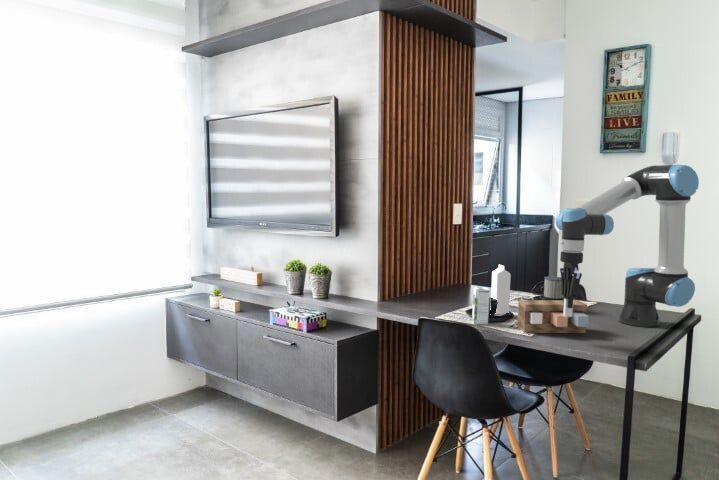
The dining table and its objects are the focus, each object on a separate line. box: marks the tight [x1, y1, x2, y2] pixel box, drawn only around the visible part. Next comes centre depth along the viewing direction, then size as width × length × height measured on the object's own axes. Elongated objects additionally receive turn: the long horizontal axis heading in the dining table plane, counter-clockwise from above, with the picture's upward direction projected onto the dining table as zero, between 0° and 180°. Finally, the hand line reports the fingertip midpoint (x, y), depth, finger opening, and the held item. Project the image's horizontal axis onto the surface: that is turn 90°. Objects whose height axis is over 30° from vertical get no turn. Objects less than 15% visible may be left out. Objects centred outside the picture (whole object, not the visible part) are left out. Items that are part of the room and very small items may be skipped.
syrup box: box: [471, 286, 491, 325], centre depth 225 cm, size 6×6×14 cm
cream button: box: [529, 311, 543, 324], centre depth 214 cm, size 4×9×4 cm, turn 3°
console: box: [516, 299, 588, 334], centre depth 216 cm, size 24×8×11 cm, turn 93°
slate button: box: [570, 311, 590, 328], centre depth 210 cm, size 4×9×4 cm, turn 3°
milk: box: [490, 264, 512, 314], centre depth 238 cm, size 6×6×22 cm
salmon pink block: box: [549, 311, 568, 327], centre depth 210 cm, size 4×9×4 cm, turn 3°
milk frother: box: [526, 275, 564, 300], centre depth 253 cm, size 14×16×15 cm
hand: (567, 316), depth 200 cm, fingers closed
